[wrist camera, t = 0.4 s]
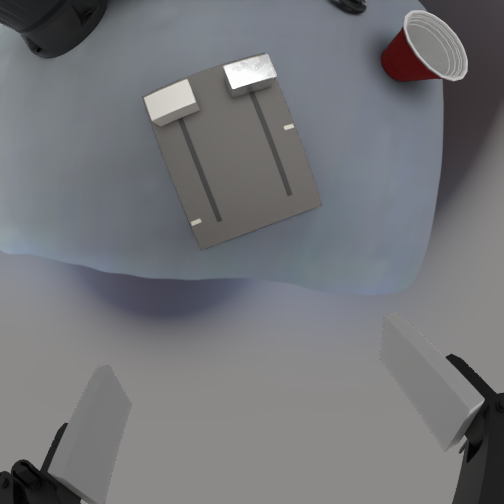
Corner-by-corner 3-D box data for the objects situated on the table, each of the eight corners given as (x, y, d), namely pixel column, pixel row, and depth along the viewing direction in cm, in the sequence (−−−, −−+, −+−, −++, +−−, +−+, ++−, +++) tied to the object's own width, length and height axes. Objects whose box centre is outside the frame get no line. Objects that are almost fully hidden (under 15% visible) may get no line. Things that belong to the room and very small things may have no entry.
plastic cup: (364, 28, 29) (402, -5, 18) (418, 51, 30) (462, 31, 19) (364, 83, 32) (410, 58, 21) (420, 104, 33) (471, 93, 22)
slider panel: (148, 102, 31) (141, 96, 28) (261, 61, 30) (264, 52, 27) (203, 244, 37) (201, 250, 34) (314, 202, 36) (322, 205, 33)
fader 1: (153, 105, 28) (143, 97, 24) (191, 89, 28) (187, 78, 24) (160, 126, 29) (151, 120, 25) (199, 110, 29) (196, 102, 25)
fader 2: (223, 77, 28) (223, 66, 24) (262, 66, 28) (267, 54, 24) (232, 98, 29) (232, 89, 25) (271, 86, 29) (277, 76, 25)
